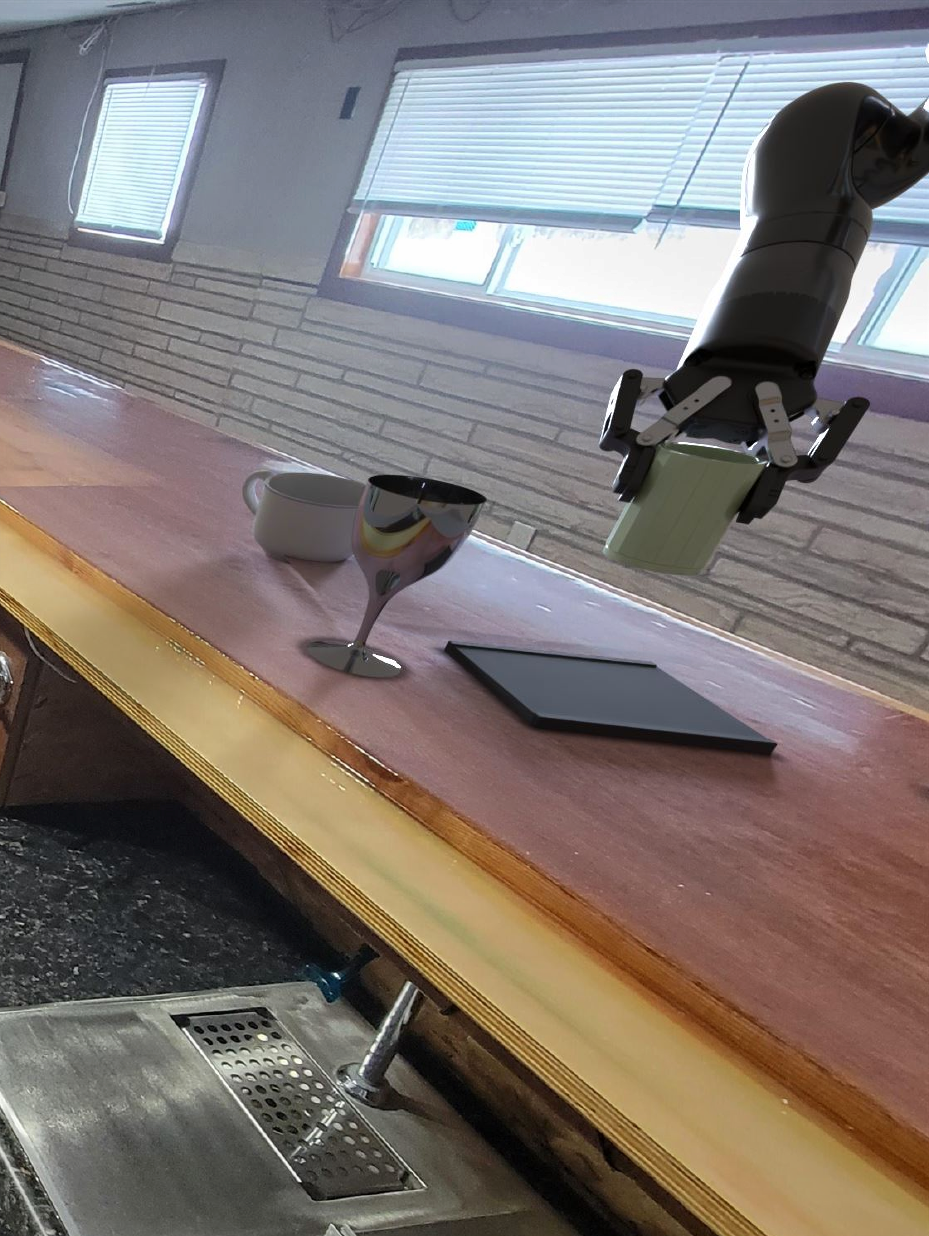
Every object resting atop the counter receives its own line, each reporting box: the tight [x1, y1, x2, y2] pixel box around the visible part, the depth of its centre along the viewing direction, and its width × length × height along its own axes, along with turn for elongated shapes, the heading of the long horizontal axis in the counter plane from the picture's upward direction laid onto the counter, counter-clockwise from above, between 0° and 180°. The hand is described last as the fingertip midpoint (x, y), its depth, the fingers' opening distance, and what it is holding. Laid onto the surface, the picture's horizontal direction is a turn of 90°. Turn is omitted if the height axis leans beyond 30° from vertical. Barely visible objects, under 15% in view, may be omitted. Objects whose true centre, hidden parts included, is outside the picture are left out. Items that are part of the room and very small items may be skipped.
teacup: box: [241, 469, 366, 565], centre depth 108 cm, size 14×11×8 cm
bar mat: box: [443, 640, 778, 756], centre depth 82 cm, size 16×14×1 cm
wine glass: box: [306, 474, 488, 678], centre depth 83 cm, size 8×8×15 cm
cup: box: [602, 441, 769, 577], centre depth 76 cm, size 6×6×8 cm
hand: (686, 506), depth 75 cm, fingers closed on cup, 6 cm apart
